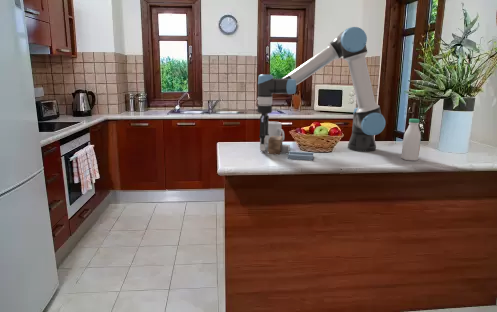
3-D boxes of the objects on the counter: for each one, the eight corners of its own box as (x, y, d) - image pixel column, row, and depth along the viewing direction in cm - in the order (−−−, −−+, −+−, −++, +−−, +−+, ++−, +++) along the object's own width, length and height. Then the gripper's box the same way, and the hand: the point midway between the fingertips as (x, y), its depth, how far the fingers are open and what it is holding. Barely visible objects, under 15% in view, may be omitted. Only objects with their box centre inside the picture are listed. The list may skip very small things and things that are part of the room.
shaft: (289, 152, 188) (289, 145, 187) (288, 154, 184) (288, 146, 183) (262, 150, 192) (262, 143, 191) (260, 151, 188) (260, 144, 187)
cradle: (313, 156, 178) (313, 152, 178) (312, 160, 170) (312, 156, 169) (289, 154, 181) (289, 151, 180) (287, 158, 172) (287, 154, 172)
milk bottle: (417, 161, 170) (422, 120, 166) (399, 159, 174) (404, 119, 170) (419, 158, 176) (424, 118, 172) (402, 156, 180) (407, 117, 176)
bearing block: (282, 149, 192) (282, 136, 191) (279, 154, 181) (280, 140, 180) (271, 149, 194) (271, 135, 192) (268, 153, 183) (268, 139, 181)
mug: (289, 146, 203) (290, 123, 200) (277, 148, 196) (277, 125, 193) (270, 142, 214) (271, 120, 211) (257, 144, 206) (258, 122, 203)
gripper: (260, 103, 193) (259, 145, 198) (254, 106, 175) (253, 151, 180) (274, 103, 192) (273, 145, 197) (269, 106, 174) (267, 152, 179)
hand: (263, 148), depth 188 cm, fingers open, 6 cm apart
